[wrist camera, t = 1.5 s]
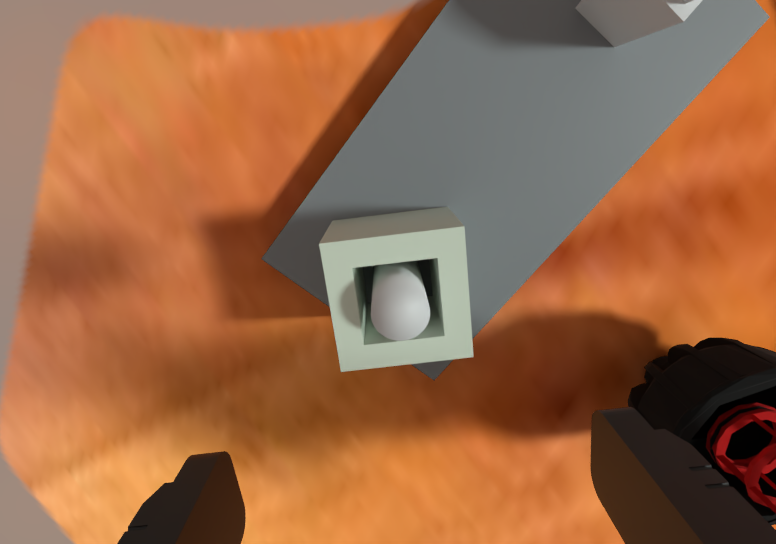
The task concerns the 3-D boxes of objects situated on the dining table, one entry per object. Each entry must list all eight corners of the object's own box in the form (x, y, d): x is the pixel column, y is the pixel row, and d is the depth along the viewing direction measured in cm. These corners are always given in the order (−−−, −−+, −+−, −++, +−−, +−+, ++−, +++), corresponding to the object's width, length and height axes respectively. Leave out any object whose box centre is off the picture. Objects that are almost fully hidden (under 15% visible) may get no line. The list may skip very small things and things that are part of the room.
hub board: (571, -166, 19) (686, -347, 12) (744, 24, 22) (928, -31, 14) (268, 251, 25) (220, 301, 18) (431, 367, 27) (449, 454, 20)
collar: (447, 206, 23) (464, 226, 18) (456, 313, 25) (473, 357, 20) (332, 220, 23) (318, 243, 18) (349, 325, 25) (341, 372, 20)
